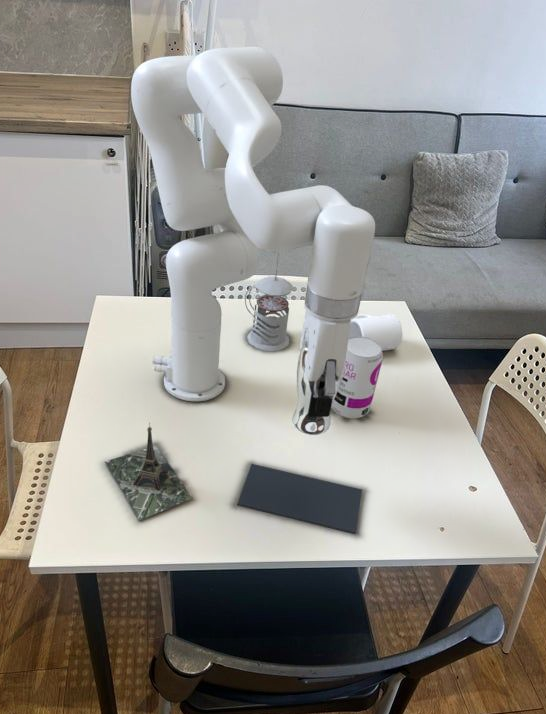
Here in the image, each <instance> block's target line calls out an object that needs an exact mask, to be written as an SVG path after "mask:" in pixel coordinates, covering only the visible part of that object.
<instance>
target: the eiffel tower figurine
mask: <svg viewBox="0 0 546 714" xmlns="http://www.w3.org/2000/svg"><path fill="white" fill-rule="evenodd" d="M150 424H151V423H150V421H149V422H148V427H147V442H146V443H147V444H146V445H147V446H146V448H144V449H140V450H137V451H134V452H131V453H128V454H124V455H121V456H117V457H115V458H111V459H108V460H105V461H104V463H105V465H106V467H107V468H108V470H109V472H110V474H111V476H112V477H113V479H114V481H115V483H116V484H117V485H118V487H119V488H120V490H121V492H122V494H123V496H124V497H125V499H126V501H127V503H128V504H129V505H130V507H131V509H132V512H133V514H135V516H136V518H137V520H138V522H139V521H141V520H144V519H147V518H149V517H151V516H154V515H156V514H158V513H161V512H163V511H166V510H168V509H170V508H173V507H175V506H177V505H180V504H182V503H184V502H186V501H189V500H191V499H193V496H192V495H191V493H190V492H189V491H188V489H187V488H186V486H185V485H184V483H183V482H182V480H181V479H180V478H179V476H178V475H177V473H176V472H175V471H174V469H173V467H172V466H171V465H170V463H169V462H168V461H167V459H166V458H165V456H164V455H163V454H162V452H161V451H160V449H159V448H158V447H157V445H154V444H153V436H152V430H153V427H151V425H150Z"/></svg>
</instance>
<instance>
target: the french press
mask: <svg viewBox="0 0 546 714" xmlns="http://www.w3.org/2000/svg"><path fill="white" fill-rule="evenodd" d="M279 257H280V252H279V253H277V259H276V268H275V276H272V275H271V276H270V275H269V276H266V277H263V278H260V279H258V281H257V282H256V283H255V284H254V285H252V286H251V287H249V288H248V289H247V291H246V292H245V294H244V304H245V308H246V310H247V311H248V313H249V314H250V315H251V316H252V317H253V318H252V330H251V331H249V333H248V334H247V341H248V343H249V344H250V345H251V346H252V347H254V348H256V349H258V350H262V351H266V352H278V351H282V350H283V349H285V348H287V347H288V346H289V345H290V337H289V336H288V335H287V329H288V321H289V315H290V314H289V313H290V307H289V306H290V303H289V301H288V300H287V299H286V298H285V297H286V296H288V295H290V294H291V293H292V292H293V290H294V285H293V284H292V283H291V281H288V280H287V279H285V278H283V277H279V276H277V273H278V264H279ZM253 289H255V293H258V294H259V292H260V293H261V294H263V295H261V296H258V298H257V299H256V304H255V305H254V307H253V306H252V302H251V298H250V297H251V292H252V290H253ZM247 295H248V301H249V306H250V307H251V310H253V313H252V312H251V311H250V310H249V308H248V306H247ZM275 315H276V316H275Z"/></svg>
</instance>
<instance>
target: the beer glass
mask: <svg viewBox="0 0 546 714" xmlns="http://www.w3.org/2000/svg"><path fill="white" fill-rule="evenodd" d="M307 352H308V350H307V347H306V345H305V338H304V339H303V342H302V347H301V350H300V349H299V355H298V360H297V365H296V389H297V390H296V392H297V403H296V407H295V408H294V409H295V410H294V412H293V415H292V418H291V422H292V424H293V426H294V428H295V429H296V430H297V431H299V432H301V433H303V434H304V435H305V434H306V435H309V436H317V435H322V434H324V433H326V432H328V431H329V430H330V427H331V421H332V420H331V414H330V415H329V416H328V417H310V416H309V415H308V410H309V404H310V398H311V394H313V393H314V384H315V381H309V380H308V379H307V377H306V374H305V365H306V356H307ZM346 354H347V352H346ZM345 363H346V358H345ZM344 370H345V364H344V369H343V373H342V376H341V379H340V380H339V381H338V382H336V381H335V388H336V392H335V395H334V397H333V400H332V403H333V401H334V399H335V396H336V394H337V392H338V389H339V387H340V384H341V382H342V378H343V374H344ZM335 374H336V372H335ZM320 377H325V370H324V372H323V373H322V375H321V376H320ZM324 387H325V382H320V383H319V389H321V388H324ZM331 406H332V405H331ZM331 411H332V409H331V410H330V412H331Z"/></svg>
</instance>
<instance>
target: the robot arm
mask: <svg viewBox="0 0 546 714" xmlns="http://www.w3.org/2000/svg"><path fill="white" fill-rule="evenodd" d="M282 71H283V70H282V68H281V65H280V62H279V61H278V59H277V58H276V56H275V55H274V54H273V53H272V52H271V51H269V50H268V49H266V48H264V47H261V46H233V47H217V48H211V49H207V50H204V51H202V52H200V53H199V54H195V55H170V56H161V57H156V58H153V59H152V58H151V59H148V60H146V61H144V62H142V63H141V64H140V65H138V66H137V67H136V69H135V71H134V72H133V74H132V78H131V84H130V97H131V98H130V99H131V104H132V109H133V112H134V116H135V117H134V118H135V119H136V122H137V124H138V127H139V129H140V132H141V133H142V136H143V137H144V140H145V142H146V145H147V147H148V150H149V153H150V158H151V162H152V167H153V172H154V177H155V181H156V186H157V190H158V195H159V199H160V200H159V201H160V204H161V208H162V212H163V216H164V219H165V221H166V223H167V225H168V226H169V227H170V228H171V229H172V230H174V231H180V232H184V231H194V230H198V229H204V228H208V227H213V226H217V225H218V227H219V230H220V232H215V233H211V234H209V233H208V234H205V235H200V236H195V237H190V238H187V239H184V240H181V241H179V242H176V243H175V244H173V246H171V248H170V249H169V250H168V252H167V253H166V257H165V268H166V275H167V280H168V284H169V291H170V307H171V308H170V310H171V312H170V313H171V314H170V315H171V316H170V317H171V356H169V357H166V356H163V355H162V356H161V355H158V354H154V355H153V357H152V364H153V365H154V366H153V370H154V371H155V372H160V373H161V372H162V373H164V375H163V386H164V388H165V390H166V391H167V392H168V393H169V394H170V395H171V396H172V397H174V398H177V399H180V400H183V401H186V402H187V401H188V402H203V401H208V400H212V399H213V398H216V397H218V396H220V395H221V393H222V392H223V391H224V389H225V386H226V377H225V374H224V373H223V372H222V370H221V369H219V365H220V351H221V350H220V349H221V331H222V315H223V313H222V307H221V304H220V302H219V300H218V298H216V297H215V296H214V295H213V294H212V293H213V291H214V290H216V289H218V288H222V287H224V286H228V285H231V284H235V283H238V282H242V281H245V280H248V279H250V278H252V277H253V276H254V275H255V274H256V273H257V271H258V268H259V265H260V252H259V250H260V251H262V252H264V253H267V254H278V253H279V254H280V253H284V252H286V251H290V250H294V249H299V248H303V247H309V246H312V250H311V255H310V258H311V259H310V263H309V270H308V275H307V276H308V277H307V284H306V289H305V290H306V291H305V296H304V297H305V298H304V304H303V305H304V309H305V314H304V318H303V325H302V328H301V329H302V330H301V333H300V334H301V335H300V340H299V351H300V350H301V347H302V342H303V339H304V338H305V345H306V347H307V350H308V352H307V356H306V365H305V374H306V377H307V379H308V380H309V381H315V384H314V393H313V394H311V398H310V404H309V410H308V415H309V416H310V417H328V416H329V415H330V416H331V411H332V407H331V405H332V400H333V397H334V395H335V392H336V388H335V381H336V382H338V381H339V380H340V379H341V376H342V373H343V369H344V364H345V358H346V352H347V346H348V339H349V334H350V333H349V331H350V323H351V319H353V318H355V317H356V316H357V315H358V314H359V310H360V305H361V301H362V297H363V290H364V286H365V281H366V276H367V273H368V266H369V262H370V259H371V258H370V257H371V253H372V248H373V244H374V239H375V232H376V221H375V219H374V217H373V215H371V213H369V212H368V211H366V210H365V209H363V208H361V207H357V206H353V205H352V204H351V203H350V202H349V201H348V200H347V199H346V198H345V197H344V196H343V195H342V194H341V193H340V192H339V191H338V190H336V189H335V188H333V187H331V186H329V185H323V184H322V185H321V184H320V185H314V186H308V187H302V188H301V187H300V188H297V189H296V188H295V189H290V190H286V191H279V192H276V193H275V192H274V193H270V194H269V192H268V191H267V190H266V189H265V187H264V186H263V185H262V183H261V182H260V180H259V178H258V177H257V176H256V173H255V171H254V169H253V168H254V167H256V166H257V165H258V164H260V163H261V162H263V160H265V159H266V158H267V157H268V156H269V155H270V154H271V153H272V151H274V150H275V148H276V146H277V144H278V143H279V141H280V139H281V136H282V129H283V128H282V121H281V120H280V117H279V116H278V115H277V113H276V112H275V111H274V110H273V108H272V107H271V106H273V105H274V104H276V102H277V101H278V100H279V99H280V97H281V94H282V92H283V87H284V86H283V85H284V77H283V76H284V75H283V72H282ZM195 114H203V116H204V117H205V119H206V122H207V123H208V124H209V125H210V127H211V128H212V130H213V131H214V133H215V135H216V136H217V138H218V140H219V141H220V143H221V144H222V145H223V147H224V149H225V151H226V152H227V153H228V157H227V160H226V163H225V167H217V168H211V169H206V168H205V166H204V162H203V157H202V151H201V147H200V144H199V141H198V139H197V137H196V136H195V134H194V133H193V131H192V130H191V129H190V128H189V126H188V125H187V124H186V123H185V122H184V121H182V120H181V119H180V118H179V117H180V116H184V115H195ZM324 370H325V377H320V376H321V375H322V373H323V372H324ZM335 372H336V374H335ZM320 382H325V387H324V388H321V389H319V383H320ZM330 410H331V411H330Z"/></svg>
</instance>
